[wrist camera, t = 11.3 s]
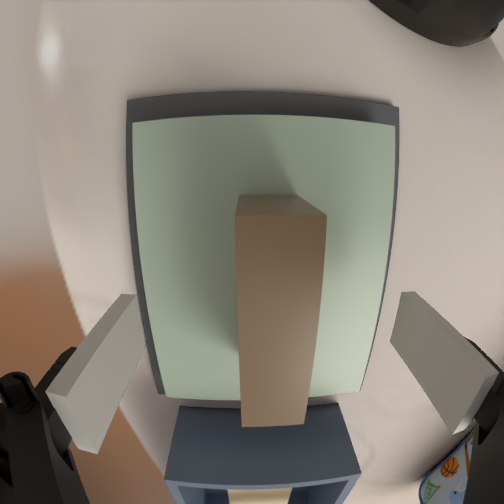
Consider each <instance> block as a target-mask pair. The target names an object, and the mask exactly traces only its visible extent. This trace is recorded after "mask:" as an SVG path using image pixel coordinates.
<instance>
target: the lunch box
mask: <svg viewBox="0 0 504 504" xmlns="http://www.w3.org/2000/svg"><path fill="white" fill-rule="evenodd" d="M467 438H468V437H466V438H465V439H464V440H463V441H462V443H461V444H460V445H459V446H458V447H457V448H456V449H455V450H454V451H453V452H452V453H451V454H450V455H449V456H448V457H447V458H446V459H445V460H444V461H443V462H442V463H441V464H439V465H438V466H437V467H436V468H435V469H433V470H432V471H431V472H430V473H429V474H428V475H427V476H426V477H425V478H424V479H423V480H422V482H421V484H420V487H419V500H420V504H463V500H464V495H465V490H466V485H467V480H468V474H469V468H470V461H471V453H472V445H470V444H471V442H472V441H473V437H472V438H471V439H470V441H469V442H468V443H467V444H465V441H466V439H467Z"/></svg>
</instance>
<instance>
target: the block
mask: <svg viewBox="0 0 504 504" xmlns="http://www.w3.org/2000/svg"><path fill="white" fill-rule="evenodd" d="M291 490H292V488H281V489H259V490H231V489H228V496H229V503H230V504H288V500H289V497H290V494H291Z"/></svg>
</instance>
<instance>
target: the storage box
mask: <svg viewBox="0 0 504 504" xmlns="http://www.w3.org/2000/svg"><path fill="white" fill-rule="evenodd" d="M360 475H361V470H360V467H359V464H358V461H357V457H356V454H355V451H354V448H353V445H352V442H351V439H350V436H349V433H348V430H347V427H346V424H345V421H344V419H343V416H342V413H341V410H340V407H339V404H338V403H336V404H327V405H317V406H307V409H306V414H305V420H304V424H299V425H285V426H265V427H242V420H241V409H223V408H199V407H184V406H180V408H179V412H178V417H177V421H176V426H175V430H174V435H173V439H172V444H171V448H170V453H169V458H168V462H167V467H166V472H165V477H164V481H165V483H166V485H167V487H168V489H169V490H170V493H171V495H172V496H173V498H174V500H175V502H176V504H230V503H229V496H228V489H231V490H259V489H281V488H292V490H291V494H290V497H289V500H288V504H342V503H343V502H344V500H345V499H346V497H347V496H348V494H349V493H350V491H351V490H352V488H353V486H354V485H355V483H356V482H357V480H358V478H359V477H360Z"/></svg>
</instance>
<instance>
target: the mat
mask: <svg viewBox="0 0 504 504" xmlns="http://www.w3.org/2000/svg"><path fill="white" fill-rule="evenodd" d="M215 115H293V116H311V117H325V118H336V119H347V120H356V121H364V122H371V123H379V124H385V125H392V126H395V177H394V196H393V210H392V222H391V232H390V241H389V250H388V257H387V265H386V272H385V278H384V285H383V291H382V296H381V302H380V307H379V313H378V318H377V323H376V327H375V332H374V337H373V341H372V345H371V350H370V354H371V351H372V347H373V343H374V339H375V334H376V330H377V326H378V321H379V317H380V312H381V307H382V302H383V297H384V292H385V286H386V280H387V274H388V268H389V262H390V255H391V248H392V240H393V231H394V222H395V212H396V201H397V187H398V168H399V107H395V106H390V105H385V104H379V103H374V102H368V101H362V100H355V99H348V98H340V97H332V96H323V95H312V94H300V93H284V92H254V91H233V92H202V93H187V94H174V95H164V96H155V97H147V98H139V99H132V100H127V124H126V163H127V191H128V208H129V222H130V234H131V244H132V253H133V262H134V270H135V278H136V285H137V292H138V298H139V305H140V311H141V316H142V322H143V328H144V333H145V338H146V343H147V348H148V353H149V357H150V362H151V366H152V371H153V375H154V379H155V383H156V387H157V391H158V394H165V395H166V393H165V389H164V385H163V381H162V377H161V373H160V369H159V364H158V360H157V355H156V350H155V346H154V341H153V336H152V330H151V325H150V320H149V314H148V308H147V302H146V296H145V289H144V283H143V275H142V268H141V260H140V252H139V243H138V233H137V222H136V210H135V195H134V177H133V137H132V126H133V123H136V122H143V121H152V120H161V119H171V118H182V117H196V116H215ZM370 354H369V358H370ZM369 358H368V362H369ZM368 362H367V366H368ZM367 366H366V369H367ZM366 369H365V373H366ZM365 373H364V376H365ZM363 380H364V377H363ZM362 383H363V381H362ZM361 386H362V384H361ZM360 390H361V388H360Z"/></svg>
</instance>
